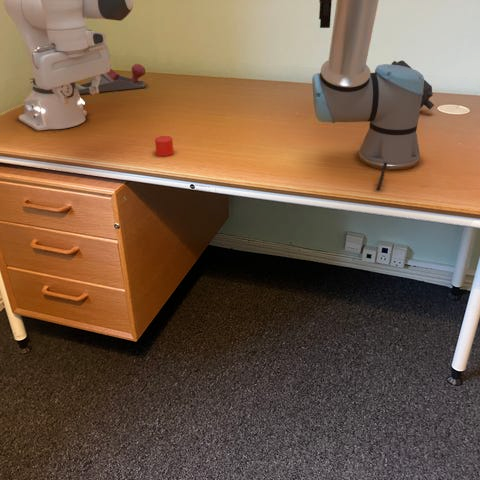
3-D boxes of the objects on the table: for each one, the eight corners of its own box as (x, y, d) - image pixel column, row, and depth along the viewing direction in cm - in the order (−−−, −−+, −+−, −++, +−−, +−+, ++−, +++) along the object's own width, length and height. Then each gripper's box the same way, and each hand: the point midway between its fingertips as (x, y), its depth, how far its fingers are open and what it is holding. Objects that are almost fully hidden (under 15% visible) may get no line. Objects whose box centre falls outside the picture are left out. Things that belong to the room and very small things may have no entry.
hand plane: (62, 90, 197) (53, 48, 189) (145, 82, 205) (140, 41, 197) (62, 96, 191) (54, 53, 184) (148, 87, 199) (143, 45, 191)
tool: (372, 91, 179) (399, 54, 168) (415, 128, 175) (445, 93, 164) (364, 95, 175) (390, 58, 165) (407, 134, 171) (437, 98, 160)
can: (174, 155, 144) (172, 141, 141) (157, 157, 143) (155, 142, 141) (172, 149, 148) (171, 135, 145) (155, 150, 147) (154, 136, 145)
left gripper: (39, 50, 115) (52, 112, 122) (110, 33, 129) (119, 90, 136) (21, 46, 118) (35, 107, 125) (93, 30, 132) (102, 86, 139)
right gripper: (314, -64, 153) (310, 15, 165) (315, -59, 132) (311, 31, 144) (341, -64, 153) (335, 15, 164) (346, -59, 132) (339, 31, 143)
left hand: (79, 98), depth 131 cm, fingers open, 8 cm apart
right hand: (324, 23), depth 154 cm, fingers open, 13 cm apart
